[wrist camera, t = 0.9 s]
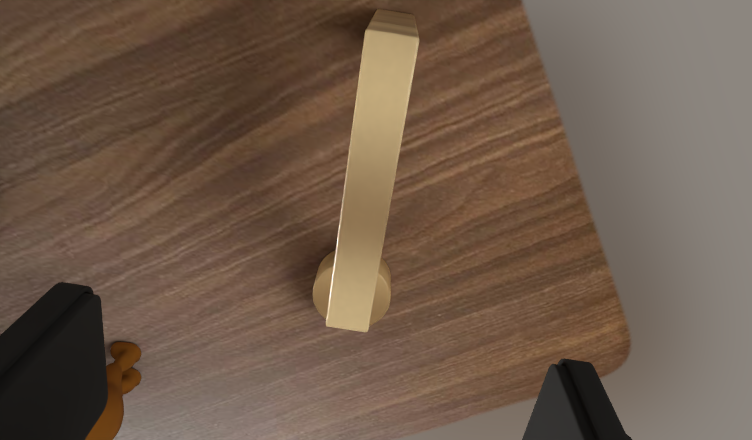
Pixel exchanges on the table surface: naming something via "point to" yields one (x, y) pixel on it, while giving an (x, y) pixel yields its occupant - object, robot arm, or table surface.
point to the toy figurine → (117, 389)
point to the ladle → (370, 177)
